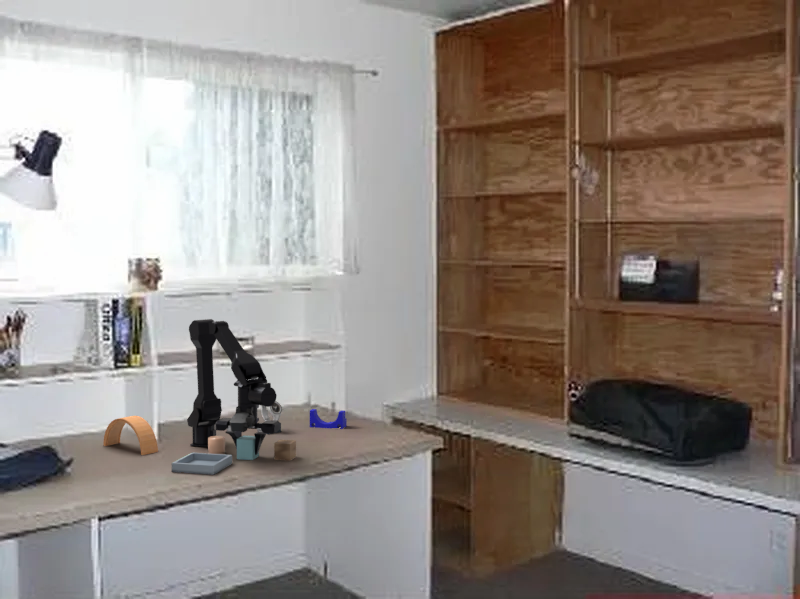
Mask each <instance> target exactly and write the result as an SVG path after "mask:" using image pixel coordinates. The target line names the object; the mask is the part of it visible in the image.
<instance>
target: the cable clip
mask: <svg viewBox="0 0 800 599" xmlns="http://www.w3.org/2000/svg"><path fill="white" fill-rule="evenodd" d="M317 410H318V409H316V408H312V409H310V410H309V428H314V427H315V429H332V428H339V427H341V428H340V429H339V430H343V428H344V427H345V428H347V425H348V424H347V422H348V421H347V420H348V419H347V418H346V410H340V411H338V415H337V417H336V419H335V420H334V421H329V422H327V421H325V420H322V419H321V418H320V416H319V414H318V411H317ZM345 428H344V429H345Z"/></svg>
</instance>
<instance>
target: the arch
mask: <svg viewBox="0 0 800 599" xmlns="http://www.w3.org/2000/svg"><path fill="white" fill-rule="evenodd" d="M126 424H127V425H128V426H129V427H130V428H131V429H132V430H133V432H134V433H135V435H136V437H137V439H138V443H139V448H140V455H141V456H146V455H149V454H154V453H158V452H159V447H158V446H159V445H158V440H157V438H156V434H155V432H154V429H153V427H152V426H151V424H150V423H149V422H148V421H147V420H146V419H144V418H143V417H142V416H138V415H131V416H130V415H129V416H124V417H119V418H115V419H114V420H112V421H111V422H109V424H108V425H107V427H106V429H105V432H104V436H103V440H102V441H103V446H104V447H106V446H107V447H108V446H112V445H117V444H120V443H121V437H122V436H121V435H122V432H123V429H124V427H125V425H126Z"/></svg>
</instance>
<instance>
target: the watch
mask: <svg viewBox="0 0 800 599" xmlns="http://www.w3.org/2000/svg"><path fill="white" fill-rule="evenodd" d="M260 407H261V408H260V414H261V416H262V420H263V422H265V421H267V420H271V417H270V415H269V414H271V416H272V418H273V419H272V420H275V421H280V418H281V415H282V412H283V407H282V405H281V403H280V402H279V401H278V400H276V401H275V403H274V404H273V405H272V406H270V407H265V406H261V405H260ZM281 432H282V422H280V430H279V431H277V432H276V433H275V434H277V433H278V434H279V433H281ZM272 434H274V433H268V434H267V435H272Z"/></svg>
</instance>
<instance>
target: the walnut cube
mask: <svg viewBox="0 0 800 599" xmlns="http://www.w3.org/2000/svg"><path fill="white" fill-rule="evenodd" d="M273 444H274V445H273V451H274V452H273V453H274V454H273V456H274V457H273V458H274V461H275V460H276V461H289V462H290V461H292V460H293V459H295V458H296V457H297V440H295V439H294V440H293V439H279V440H277V441H276V442H274V443H273Z"/></svg>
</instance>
